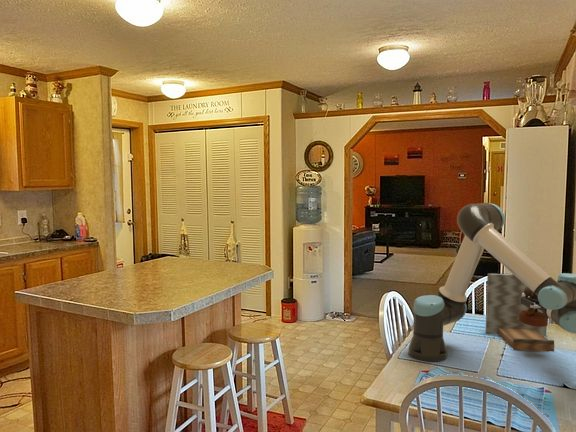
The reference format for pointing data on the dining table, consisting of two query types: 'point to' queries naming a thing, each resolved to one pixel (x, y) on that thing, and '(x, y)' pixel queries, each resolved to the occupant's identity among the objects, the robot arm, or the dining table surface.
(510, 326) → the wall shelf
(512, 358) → the dining table surface
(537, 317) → the brown curved piece
